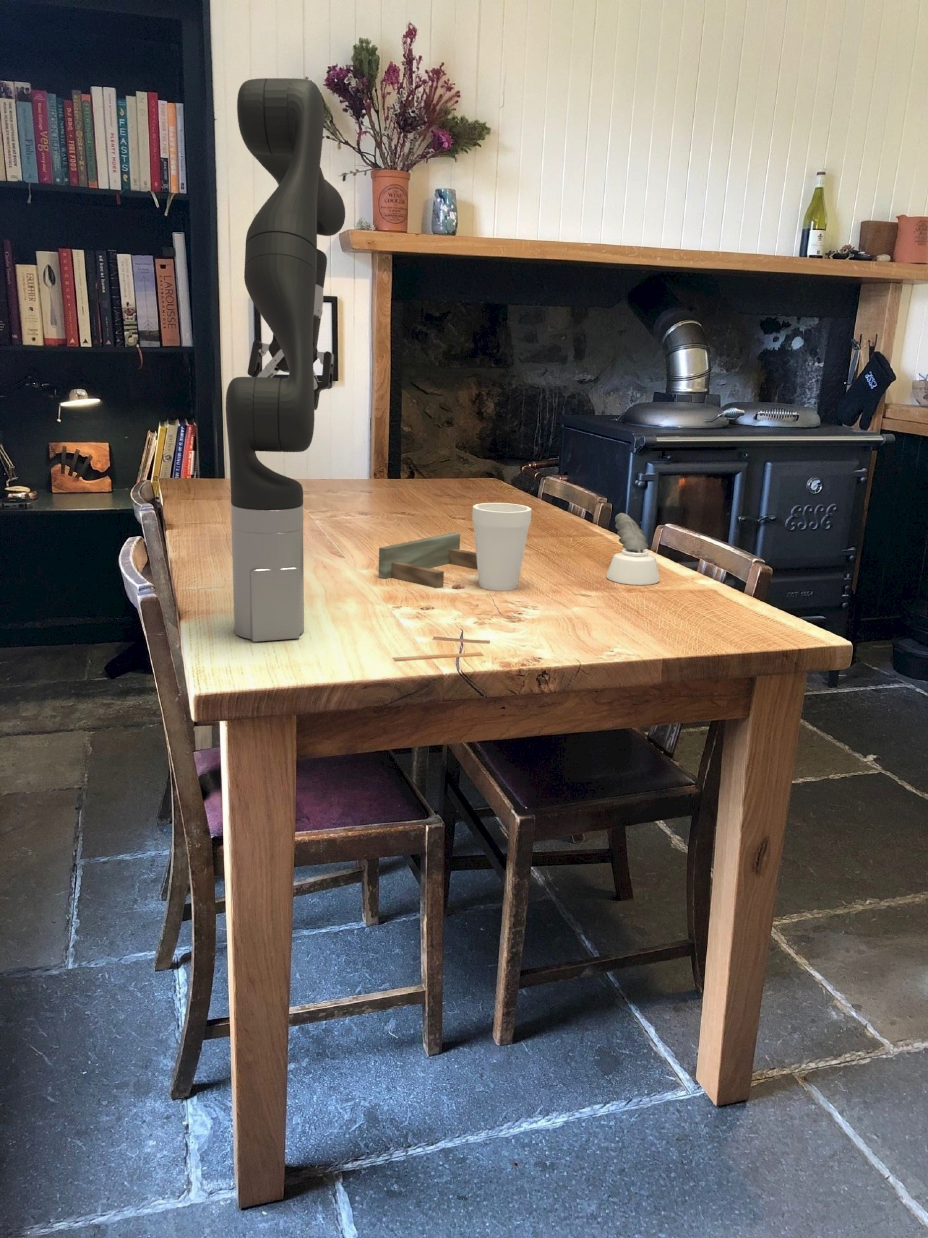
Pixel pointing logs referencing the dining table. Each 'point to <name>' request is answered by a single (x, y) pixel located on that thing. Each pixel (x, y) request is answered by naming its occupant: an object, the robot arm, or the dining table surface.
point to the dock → (424, 559)
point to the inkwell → (632, 556)
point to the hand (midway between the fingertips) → (285, 408)
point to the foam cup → (500, 543)
